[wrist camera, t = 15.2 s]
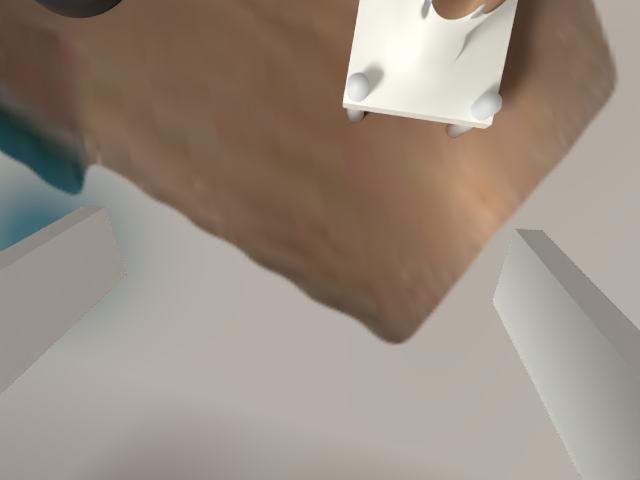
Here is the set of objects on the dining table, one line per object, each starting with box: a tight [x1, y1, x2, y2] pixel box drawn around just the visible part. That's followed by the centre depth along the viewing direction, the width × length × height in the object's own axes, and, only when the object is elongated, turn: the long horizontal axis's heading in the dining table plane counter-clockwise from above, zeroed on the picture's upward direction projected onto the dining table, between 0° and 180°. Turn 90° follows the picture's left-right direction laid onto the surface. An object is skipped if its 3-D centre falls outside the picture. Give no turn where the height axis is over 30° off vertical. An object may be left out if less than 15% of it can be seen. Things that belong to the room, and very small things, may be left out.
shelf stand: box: [343, 0, 518, 138], centre depth 32 cm, size 13×13×10 cm
